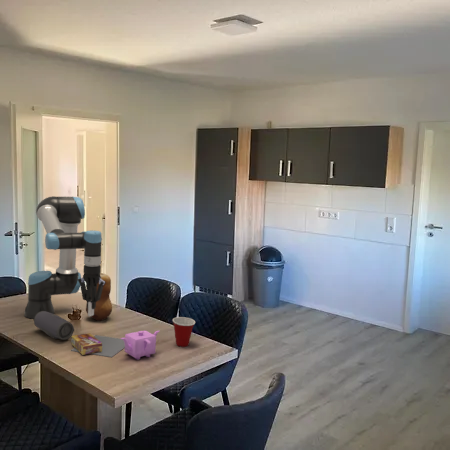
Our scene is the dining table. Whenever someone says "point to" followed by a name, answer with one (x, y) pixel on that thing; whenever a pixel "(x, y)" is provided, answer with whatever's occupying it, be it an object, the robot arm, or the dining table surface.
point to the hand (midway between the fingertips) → (90, 315)
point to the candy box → (86, 344)
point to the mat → (108, 346)
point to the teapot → (140, 343)
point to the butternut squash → (103, 301)
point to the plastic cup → (183, 330)
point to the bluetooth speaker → (53, 325)
